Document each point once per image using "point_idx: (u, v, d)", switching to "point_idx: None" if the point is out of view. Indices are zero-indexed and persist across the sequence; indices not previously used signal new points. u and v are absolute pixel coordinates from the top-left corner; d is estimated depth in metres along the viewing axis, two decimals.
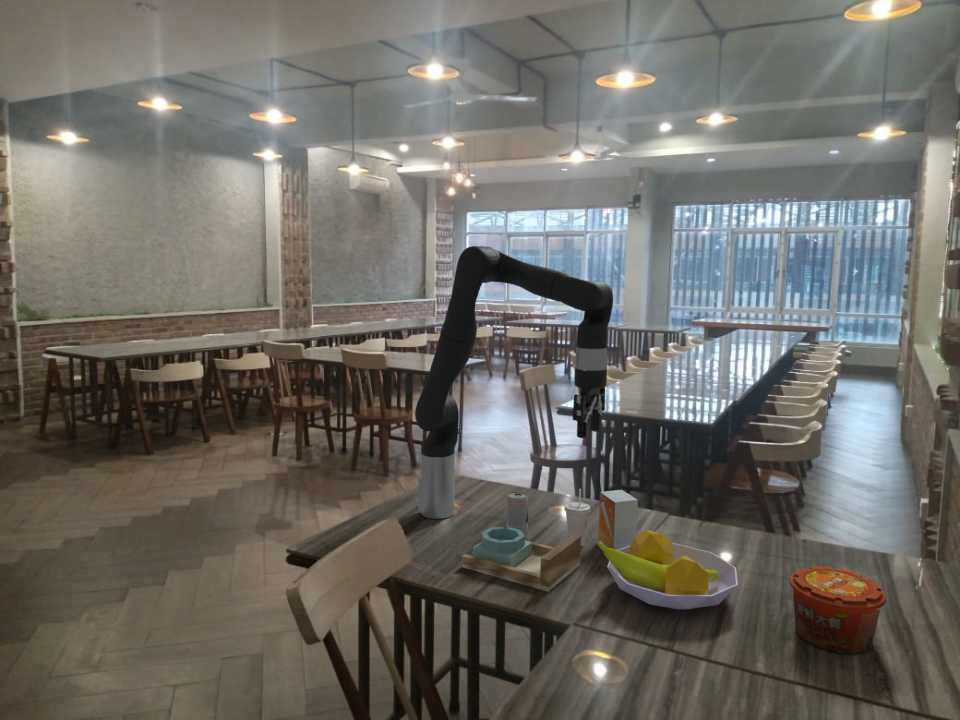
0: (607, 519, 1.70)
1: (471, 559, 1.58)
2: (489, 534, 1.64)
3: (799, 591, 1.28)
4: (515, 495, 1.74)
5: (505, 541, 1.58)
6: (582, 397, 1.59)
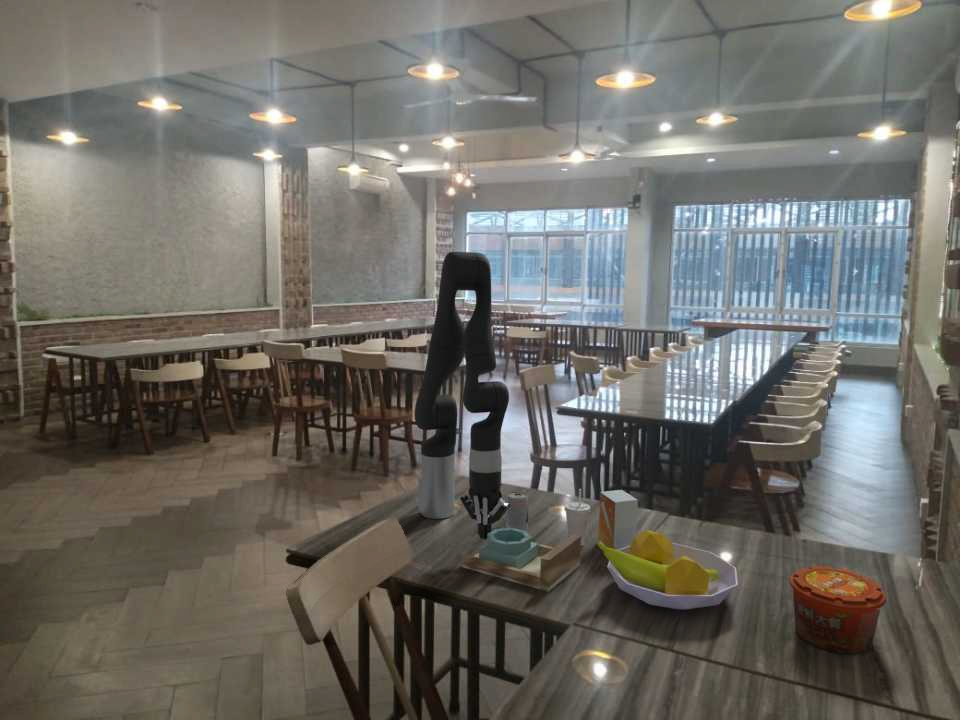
0: (607, 519, 1.70)
1: (471, 559, 1.58)
2: (495, 535, 1.63)
3: (799, 591, 1.28)
4: (515, 495, 1.74)
5: (511, 543, 1.57)
6: (509, 506, 1.61)
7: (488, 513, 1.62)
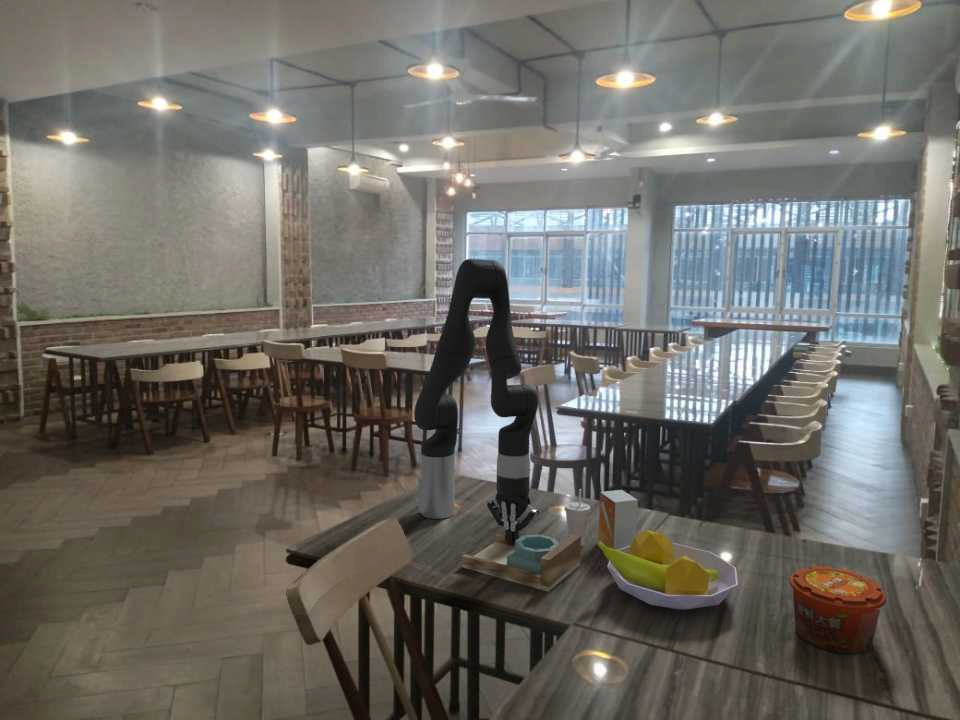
0: (607, 519, 1.70)
1: (471, 559, 1.58)
2: (523, 542, 1.59)
3: (799, 591, 1.28)
4: None
5: (540, 550, 1.53)
6: None
7: (516, 519, 1.58)
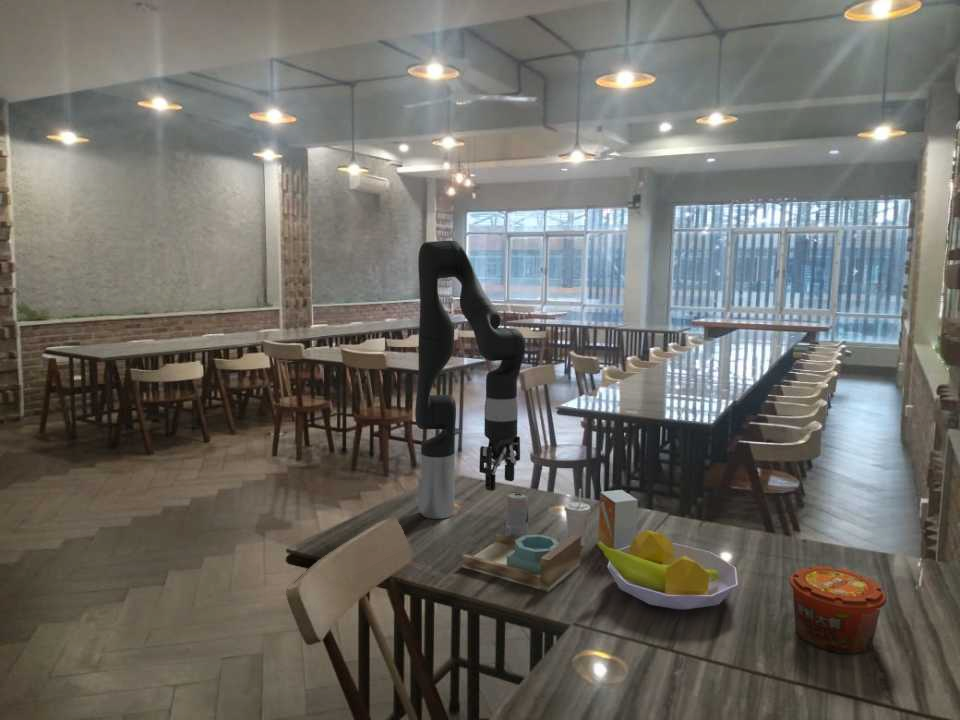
0: (607, 519, 1.70)
1: (471, 559, 1.58)
2: (523, 542, 1.59)
3: (799, 591, 1.28)
4: (515, 495, 1.74)
5: (540, 550, 1.53)
6: None
7: None
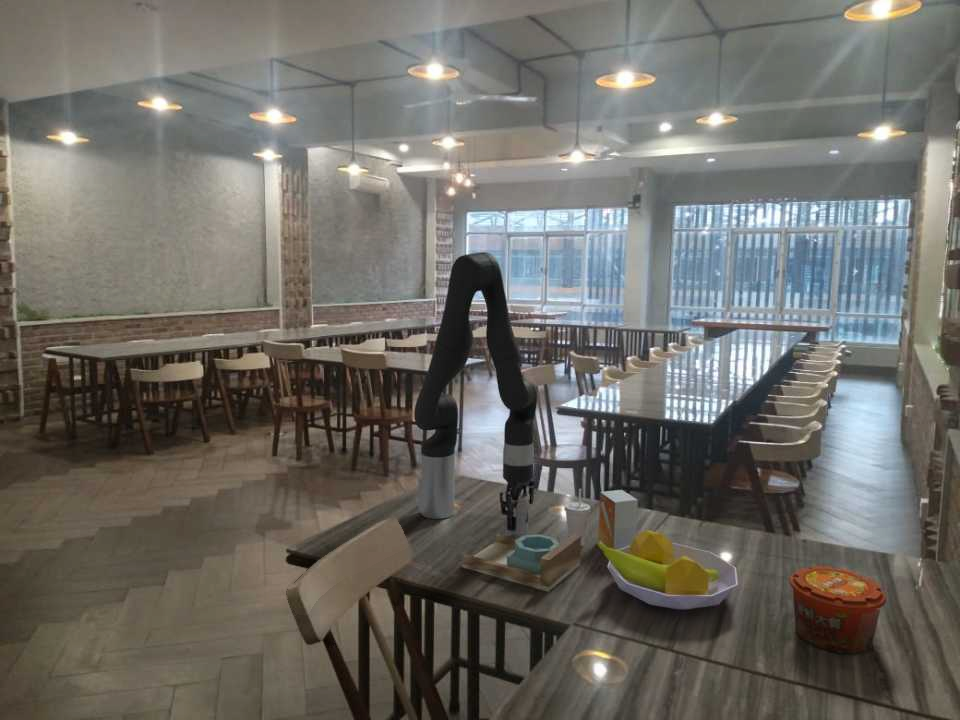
0: (607, 519, 1.70)
1: (471, 559, 1.58)
2: (523, 542, 1.59)
3: (799, 591, 1.28)
4: None
5: (540, 550, 1.53)
6: None
7: None
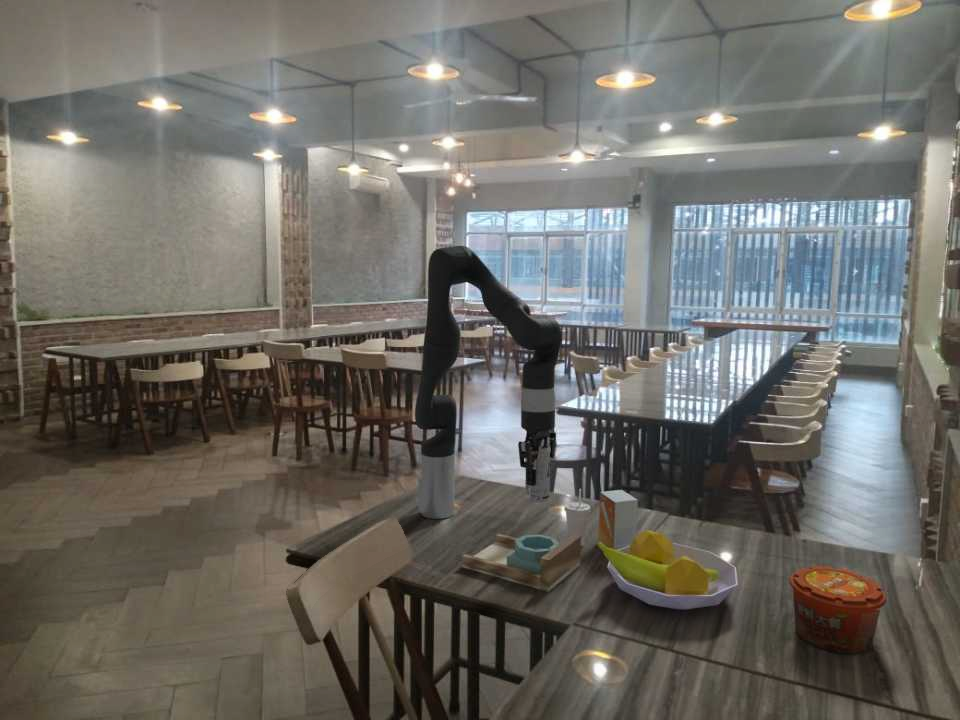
0: (607, 519, 1.70)
1: (471, 559, 1.58)
2: (523, 542, 1.59)
3: (799, 591, 1.28)
4: None
5: (540, 550, 1.53)
6: None
7: None
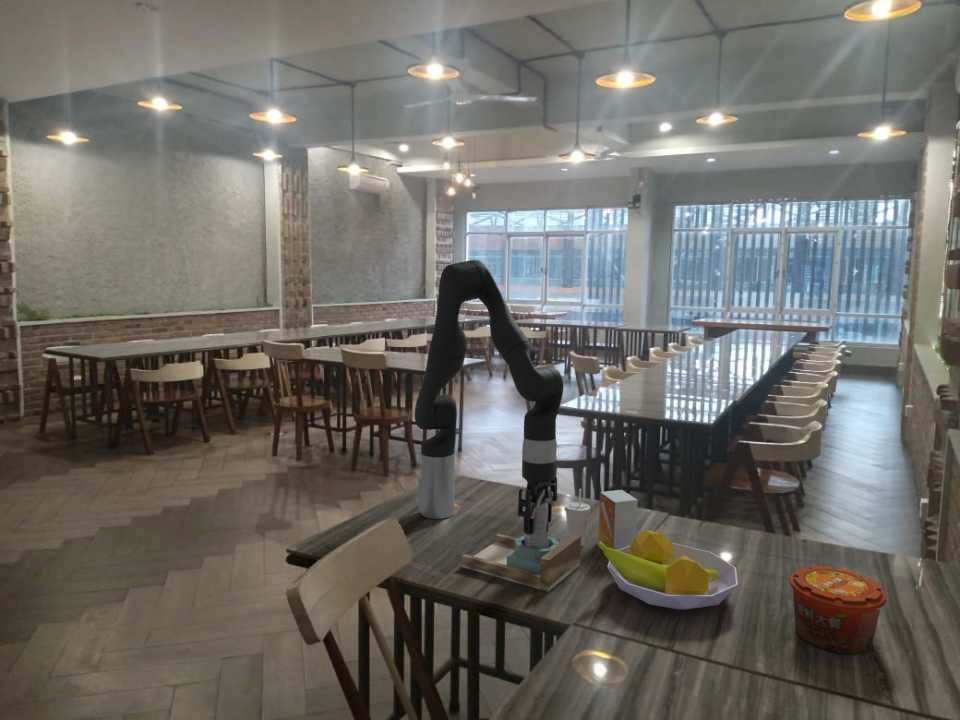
0: (607, 519, 1.70)
1: (471, 559, 1.58)
2: (522, 542, 1.59)
3: (799, 591, 1.28)
4: None
5: (540, 550, 1.53)
6: None
7: None
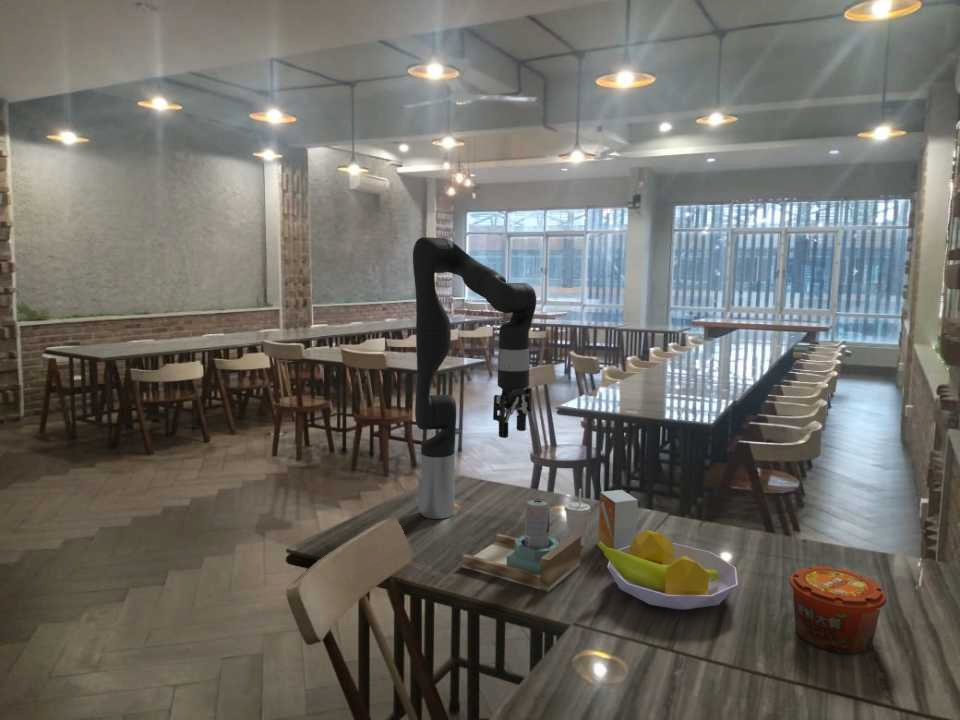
0: (607, 519, 1.70)
1: (471, 559, 1.58)
2: (522, 542, 1.59)
3: (799, 591, 1.28)
4: (535, 502, 1.57)
5: (540, 550, 1.53)
6: None
7: None
